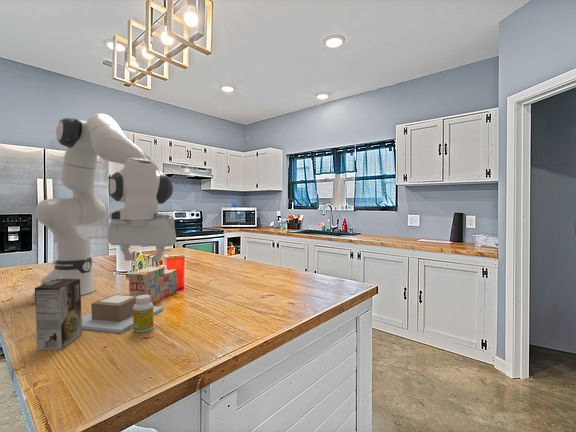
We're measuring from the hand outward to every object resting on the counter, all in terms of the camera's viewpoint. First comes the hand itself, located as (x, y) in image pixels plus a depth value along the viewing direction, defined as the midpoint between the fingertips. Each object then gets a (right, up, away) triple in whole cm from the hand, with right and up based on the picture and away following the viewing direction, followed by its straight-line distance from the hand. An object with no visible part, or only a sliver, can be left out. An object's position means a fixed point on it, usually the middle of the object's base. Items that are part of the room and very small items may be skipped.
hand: (142, 260), depth 91 cm
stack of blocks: (-9, -19, +31) cm, 37 cm away
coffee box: (-18, -21, -8) cm, 29 cm away
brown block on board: (-13, -20, +10) cm, 25 cm away
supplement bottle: (0, -21, +1) cm, 21 cm away
